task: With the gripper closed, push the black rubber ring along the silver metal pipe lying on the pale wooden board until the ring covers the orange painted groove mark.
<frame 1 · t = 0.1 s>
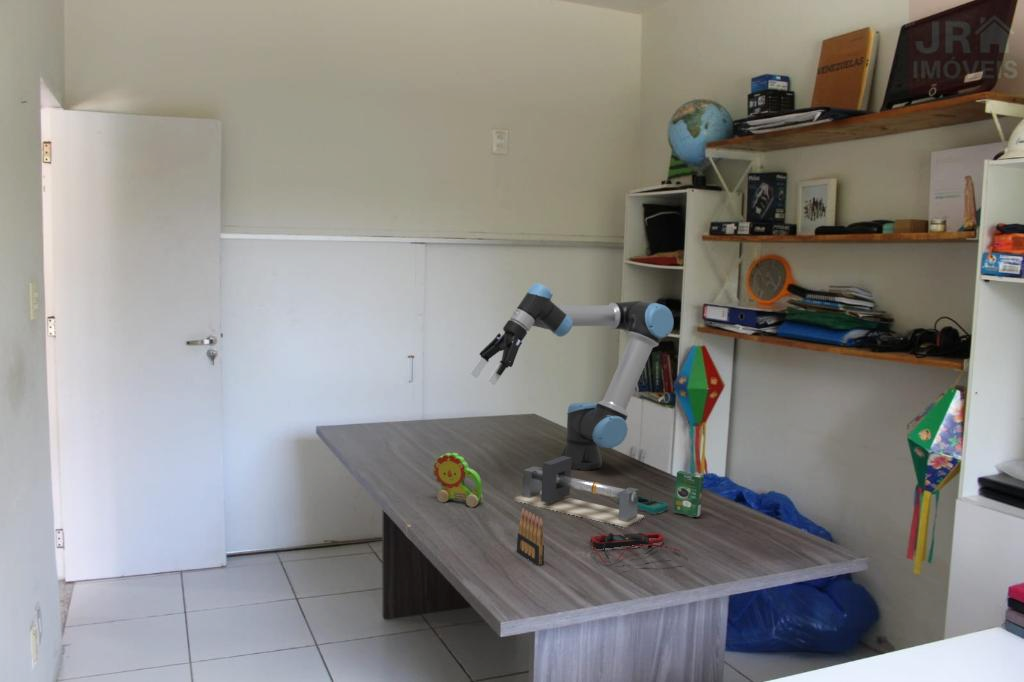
hand: (482, 379, 274), 36 cm above the table, tool tilted 35°, fingers open, 13 cm apart
toy lion: (456, 502, 261), on the table
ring: (556, 479, 262), point 8 cm above the table, slide at -8.0 cm
pipe: (578, 492, 258), on the board, point 5 cm above the table
coffee box: (687, 516, 258), on the table
ammunition clip: (529, 558, 217), on the table
board: (577, 509, 259), on the table
digital multimeter: (642, 509, 264), on the table
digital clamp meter: (635, 558, 223), on the table
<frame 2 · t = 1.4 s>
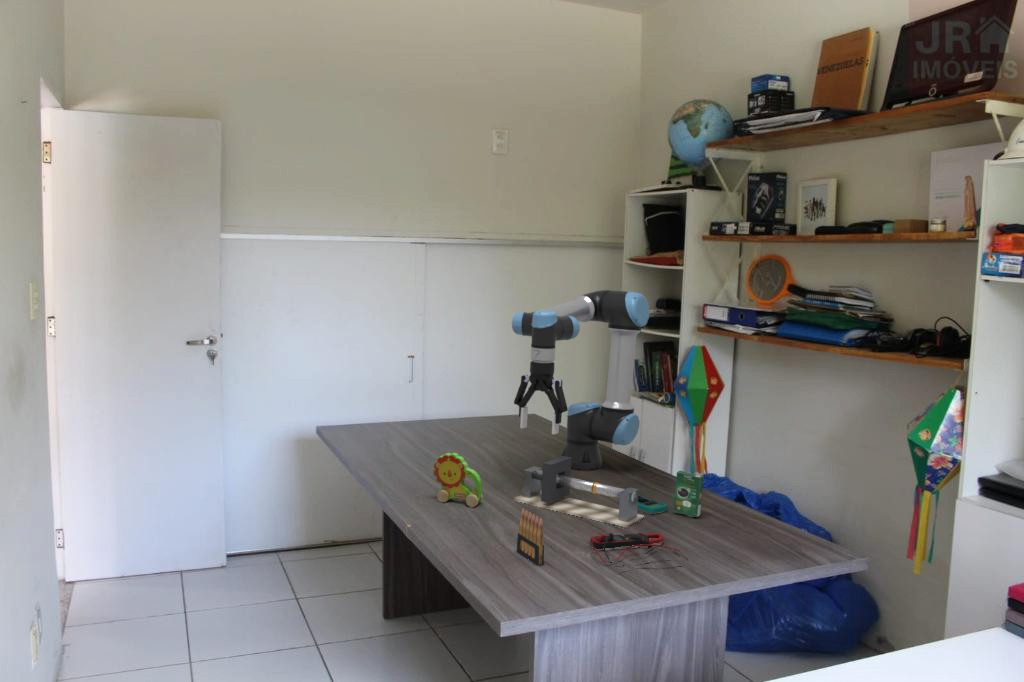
hand: (539, 430, 265), 22 cm above the table, tool pointing down, fingers open, 11 cm apart
nothing on the table moved.
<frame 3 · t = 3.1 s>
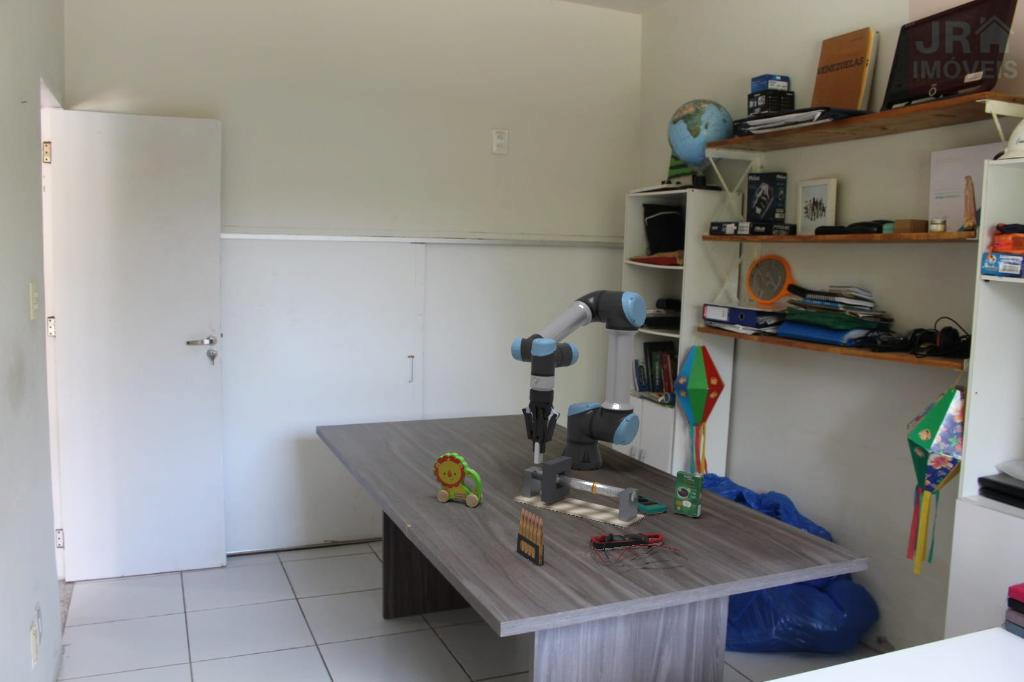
hand: (538, 462, 266), 12 cm above the table, tool pointing down, fingers closed
nothing on the table moved.
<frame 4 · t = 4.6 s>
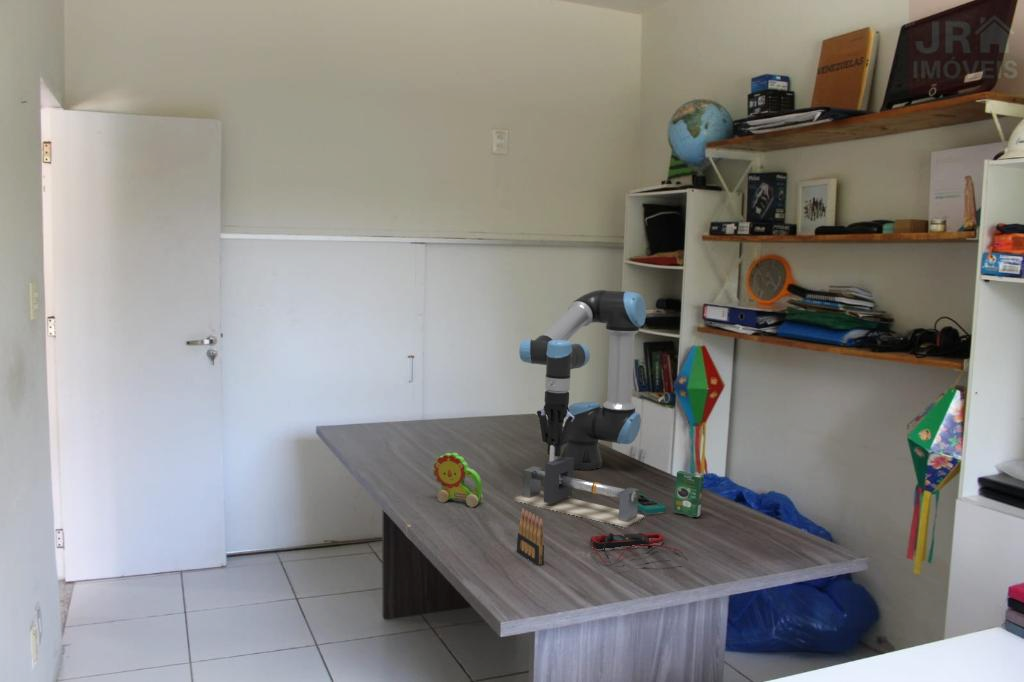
hand: (553, 465, 263), 12 cm above the table, tool pointing down, fingers closed
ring: (559, 479, 262), point 8 cm above the table, slide at -7.0 cm, touching gripper
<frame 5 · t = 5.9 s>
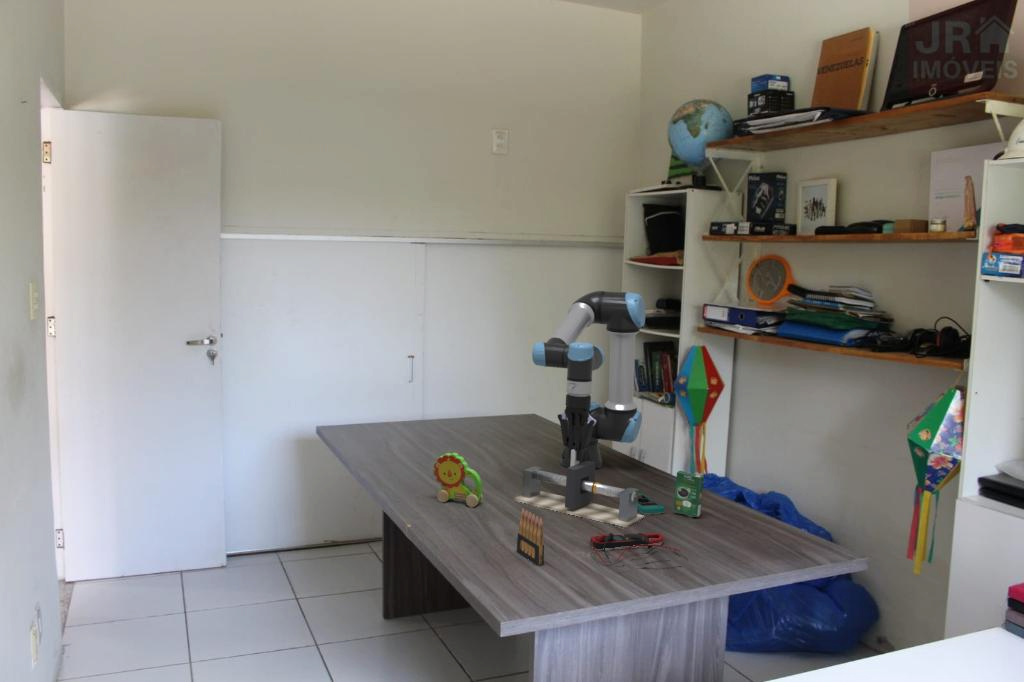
hand: (574, 470, 258), 12 cm above the table, tool pointing down, fingers closed
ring: (580, 484, 258), point 8 cm above the table, slide at 0.5 cm, touching gripper
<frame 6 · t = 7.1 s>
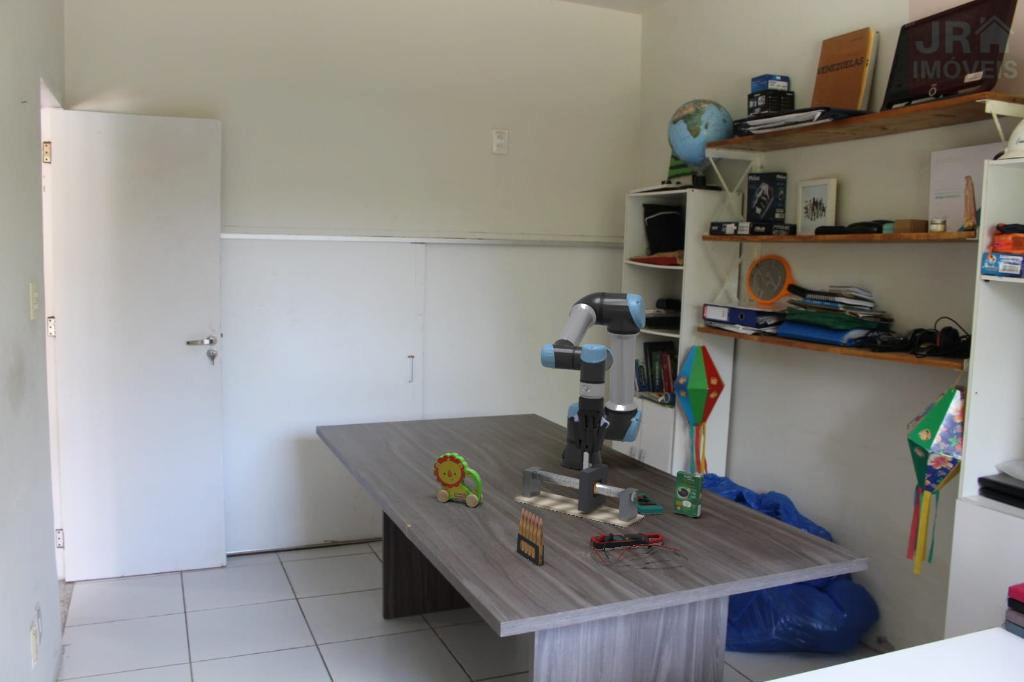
hand: (587, 473, 256), 12 cm above the table, tool pointing down, fingers closed
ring: (593, 487, 255), point 8 cm above the table, slide at 5.0 cm, touching gripper
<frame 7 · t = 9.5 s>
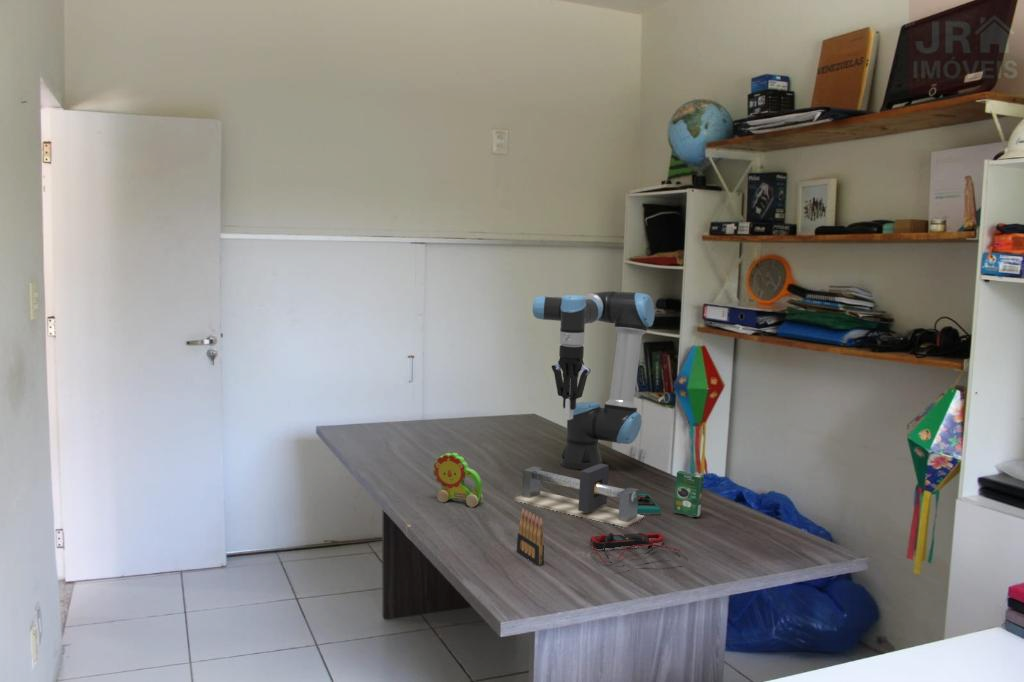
hand: (568, 418, 267), 26 cm above the table, tool pointing down, fingers closed
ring: (593, 487, 255), point 8 cm above the table, slide at 5.2 cm
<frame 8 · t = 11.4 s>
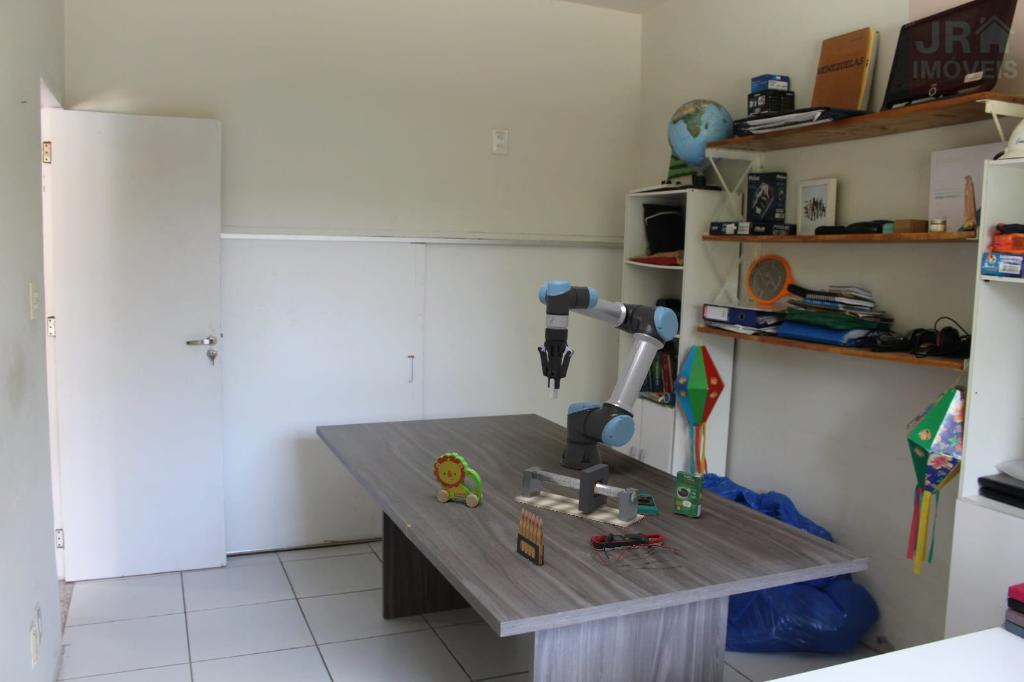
hand: (553, 398, 281), 29 cm above the table, tool pointing down, fingers closed
at the end: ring slide at 5.2 cm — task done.
